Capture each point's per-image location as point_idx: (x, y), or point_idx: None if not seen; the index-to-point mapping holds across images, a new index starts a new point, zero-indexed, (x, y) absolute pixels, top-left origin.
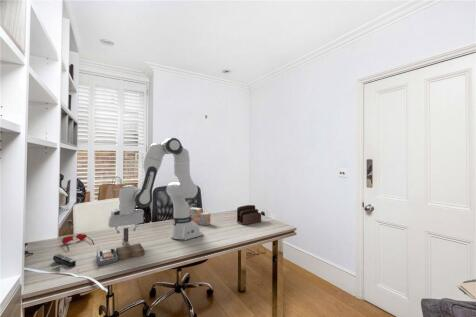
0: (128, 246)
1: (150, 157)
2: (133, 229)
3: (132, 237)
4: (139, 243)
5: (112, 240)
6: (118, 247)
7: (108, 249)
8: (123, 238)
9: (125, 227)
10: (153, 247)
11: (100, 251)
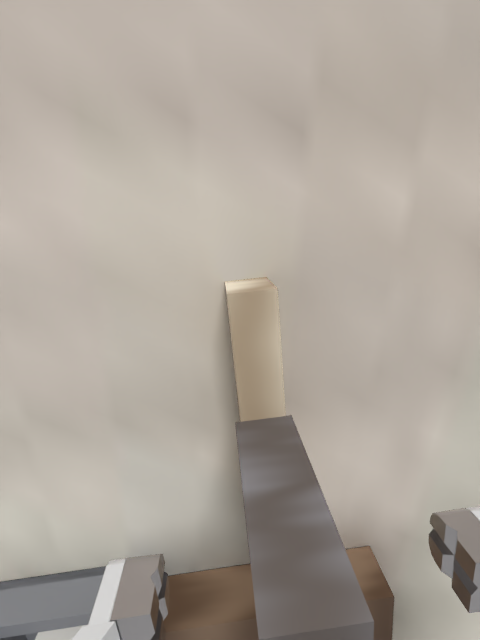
0: None
1: None
2: (453, 589)
3: (370, 131)
4: (388, 600)
5: (78, 128)
6: (179, 633)
7: (82, 620)
8: (237, 441)
9: (311, 631)
10: None
11: (8, 635)
